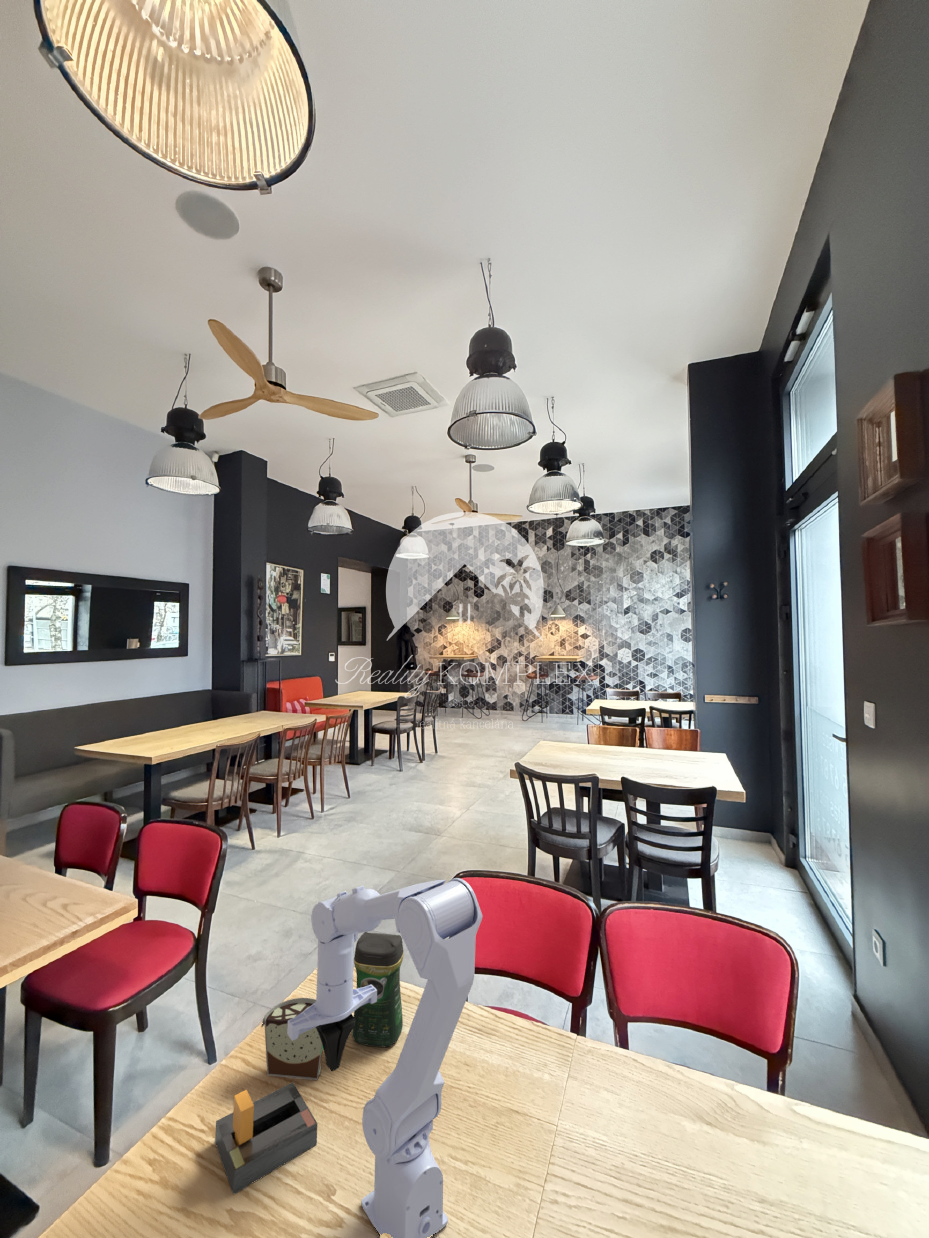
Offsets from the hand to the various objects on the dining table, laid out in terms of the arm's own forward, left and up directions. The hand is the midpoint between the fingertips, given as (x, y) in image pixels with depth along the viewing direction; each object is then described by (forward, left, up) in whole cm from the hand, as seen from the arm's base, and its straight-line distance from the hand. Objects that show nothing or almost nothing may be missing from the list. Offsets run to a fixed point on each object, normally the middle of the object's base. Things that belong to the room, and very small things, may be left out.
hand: (332, 1065), depth 82 cm
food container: (+16, -1, -10) cm, 19 cm away
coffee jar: (+14, -16, -10) cm, 24 cm away
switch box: (+4, +9, -9) cm, 13 cm away
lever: (+4, +12, -9) cm, 16 cm away
